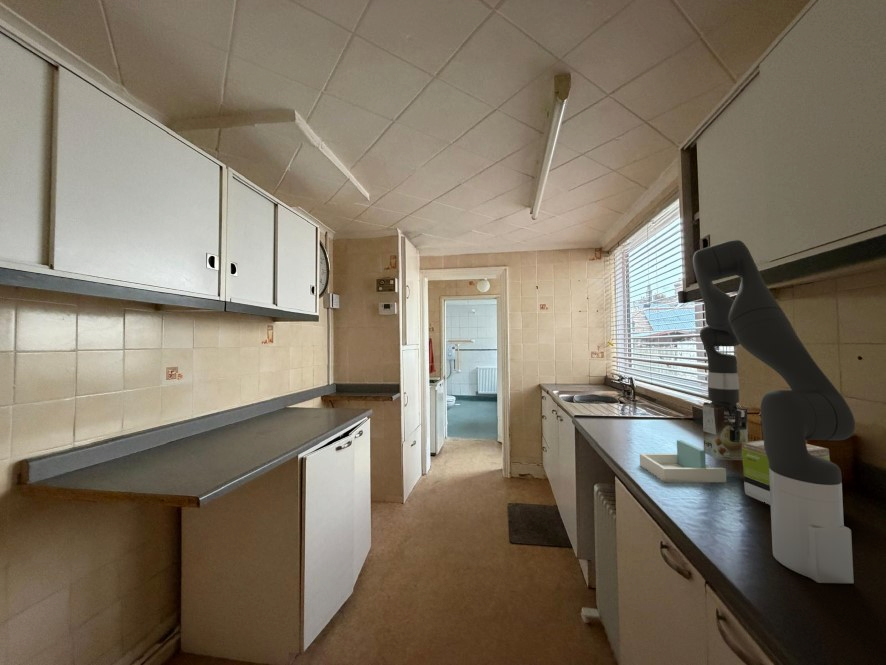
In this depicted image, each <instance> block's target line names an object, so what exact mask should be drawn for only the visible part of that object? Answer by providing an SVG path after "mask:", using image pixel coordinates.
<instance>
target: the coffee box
mask: <svg viewBox="0 0 886 665" xmlns="http://www.w3.org/2000/svg"><path fill="white" fill-rule="evenodd" d="M736 406H737V408H738V409H739V410H746V411H747V412H748V408H745V407H741V406H738V405H736ZM702 417H703V418H702V424H703V427H702V428H703V429H702V431H703V435H702V436H703V437H702V438H703V450H705V455H708V456H710V457H712V458H714V459H716V460H729V461H743V455H742V442H749V438H748V437H749V435H748V434H749V428H748V427H749V426H748V424H749V422H747V429H746V430H740V441H739V442H731V441H730V430H731V429H730V427H729V423H728V422H727V418H729V419H730V420H735V415H734V412H733V413H732V415H729V410H728V408H724V407H721V406H716V405H704V403H702ZM732 423H733V426H735V422H732ZM741 425H742V422H740V426H741Z"/></svg>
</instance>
